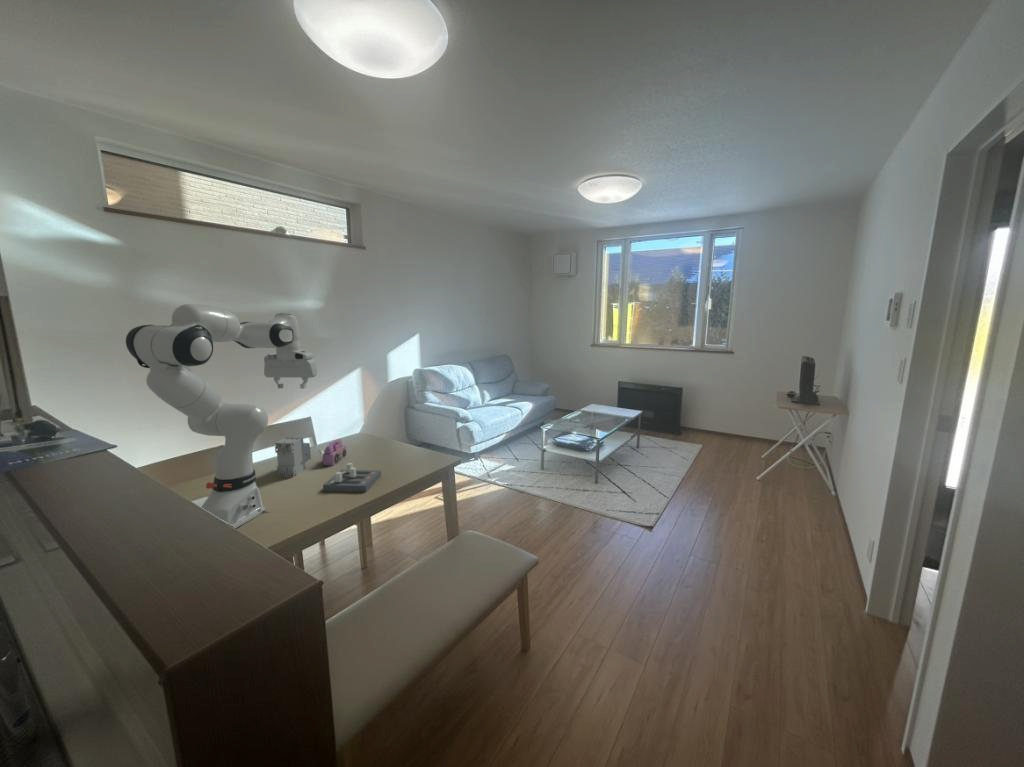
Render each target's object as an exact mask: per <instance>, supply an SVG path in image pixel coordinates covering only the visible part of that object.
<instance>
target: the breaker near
mask: <svg viewBox="0 0 1024 767" xmlns="http://www.w3.org/2000/svg"><path fill="white" fill-rule="evenodd" d="M334 476H335V480H336V482H341V481H342V472H340V471H336V472H335V473H334Z"/></svg>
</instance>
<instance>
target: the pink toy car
mask: <svg viewBox="0 0 1024 767" xmlns="http://www.w3.org/2000/svg"><path fill="white" fill-rule="evenodd" d="M343 444H344V443H343V441H342V439H339V438H337V439H334V440H332V442H329V444H328V445H327V446H326V448H325V450H323V454H322V464H323V466H325V467H326V466H327V467H328V466H336V465H337V464H339V461H340V460H341V461H343V460H344V459H345V458H346V457H347V456H348V453H347V452H348V451H347V450H348V449H347V445H343ZM345 456H346V457H345ZM344 457H345V458H344ZM343 458H344V459H343ZM341 461H340V462H341Z"/></svg>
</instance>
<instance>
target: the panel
mask: <svg viewBox="0 0 1024 767" xmlns="http://www.w3.org/2000/svg"><path fill="white" fill-rule="evenodd" d="M339 472H342V481H341V482H336V480H335V475H334V476H332V477H331V478H330V479H328V480H326V482H325V483H324V484H322V487H323V488H322V489H323V492H345V493H346V492H351V493H353V492H355V493H356V492H357V493H367V492H368V490H369V489H371V488H372V486H374V484H376V482H377V481H379V479H380V478H382V477H381V476H382V472H381V470H380V469H379V470H372V469H371V470H369V469H368V470H366V469H363V470H362V469H356V476H355V477H354V478H350V473H347V469H341V470H340V471H339Z"/></svg>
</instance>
